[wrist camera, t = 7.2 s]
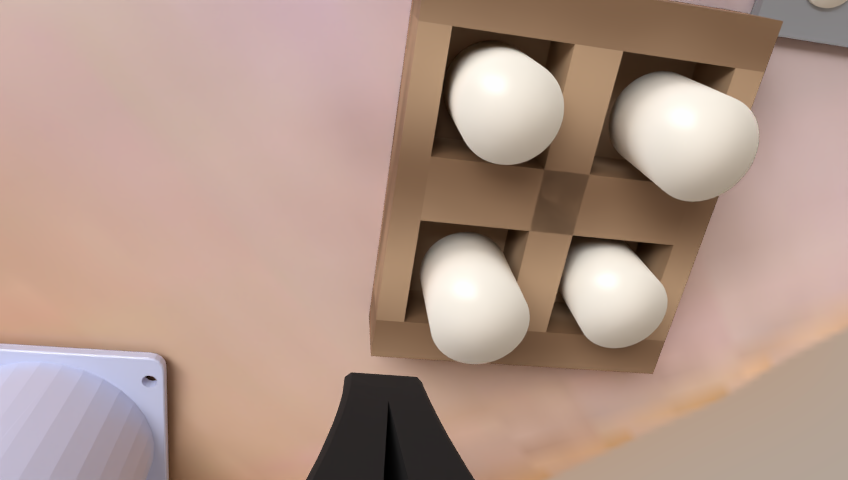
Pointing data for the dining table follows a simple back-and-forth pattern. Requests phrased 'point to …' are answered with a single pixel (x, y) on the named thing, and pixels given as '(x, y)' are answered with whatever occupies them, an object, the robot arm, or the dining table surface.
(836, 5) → the card
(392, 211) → the board
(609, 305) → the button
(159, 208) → the dining table surface
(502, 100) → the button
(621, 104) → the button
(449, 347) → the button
